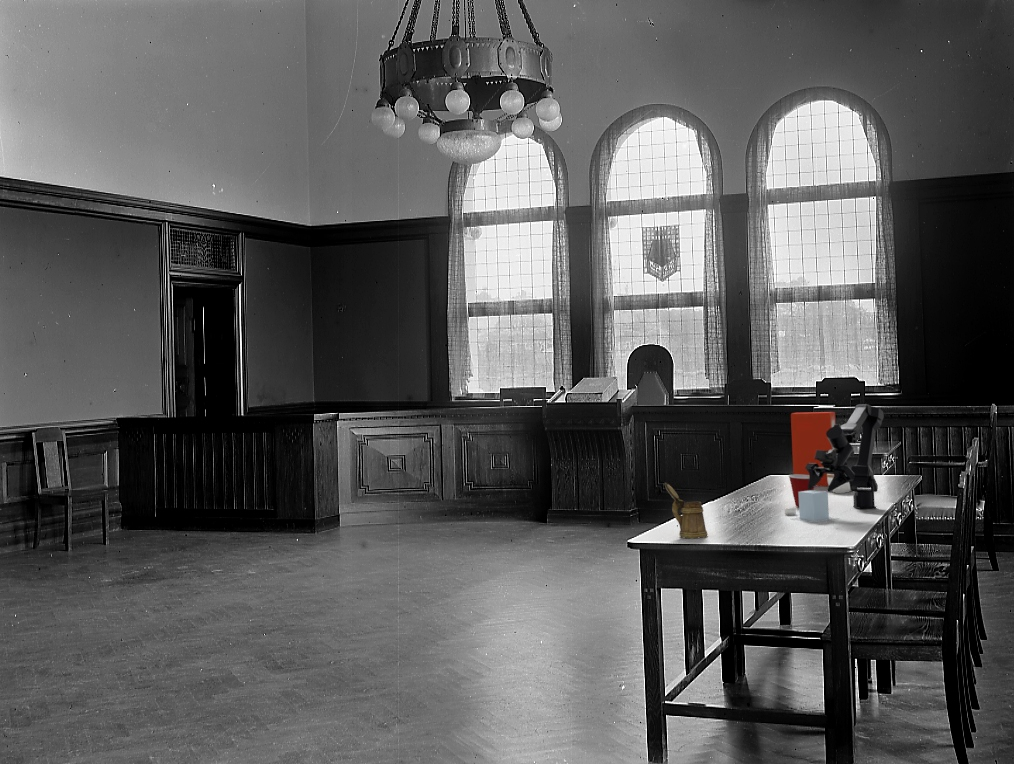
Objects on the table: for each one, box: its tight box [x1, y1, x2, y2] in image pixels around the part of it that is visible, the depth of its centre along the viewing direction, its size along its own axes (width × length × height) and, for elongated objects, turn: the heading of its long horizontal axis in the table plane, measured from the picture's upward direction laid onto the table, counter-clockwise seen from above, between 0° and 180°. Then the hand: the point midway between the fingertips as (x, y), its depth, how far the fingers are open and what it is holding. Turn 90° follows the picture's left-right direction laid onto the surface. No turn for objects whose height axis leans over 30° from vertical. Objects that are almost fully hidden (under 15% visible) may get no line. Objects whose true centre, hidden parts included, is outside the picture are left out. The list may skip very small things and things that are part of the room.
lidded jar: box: [827, 474, 851, 494], centre depth 453 cm, size 11×11×9 cm
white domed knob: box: [784, 506, 797, 516], centre depth 395 cm, size 4×4×3 cm
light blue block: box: [798, 489, 830, 521], centre depth 383 cm, size 7×7×10 cm
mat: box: [791, 516, 840, 523], centre depth 383 cm, size 12×12×1 cm
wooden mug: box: [664, 482, 708, 539], centre depth 361 cm, size 9×14×18 cm, turn 69°
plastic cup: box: [788, 474, 815, 508], centre depth 417 cm, size 11×11×12 cm
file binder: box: [790, 411, 837, 487], centre depth 480 cm, size 8×17×32 cm, turn 57°
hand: (818, 490), depth 384 cm, fingers open, 9 cm apart
